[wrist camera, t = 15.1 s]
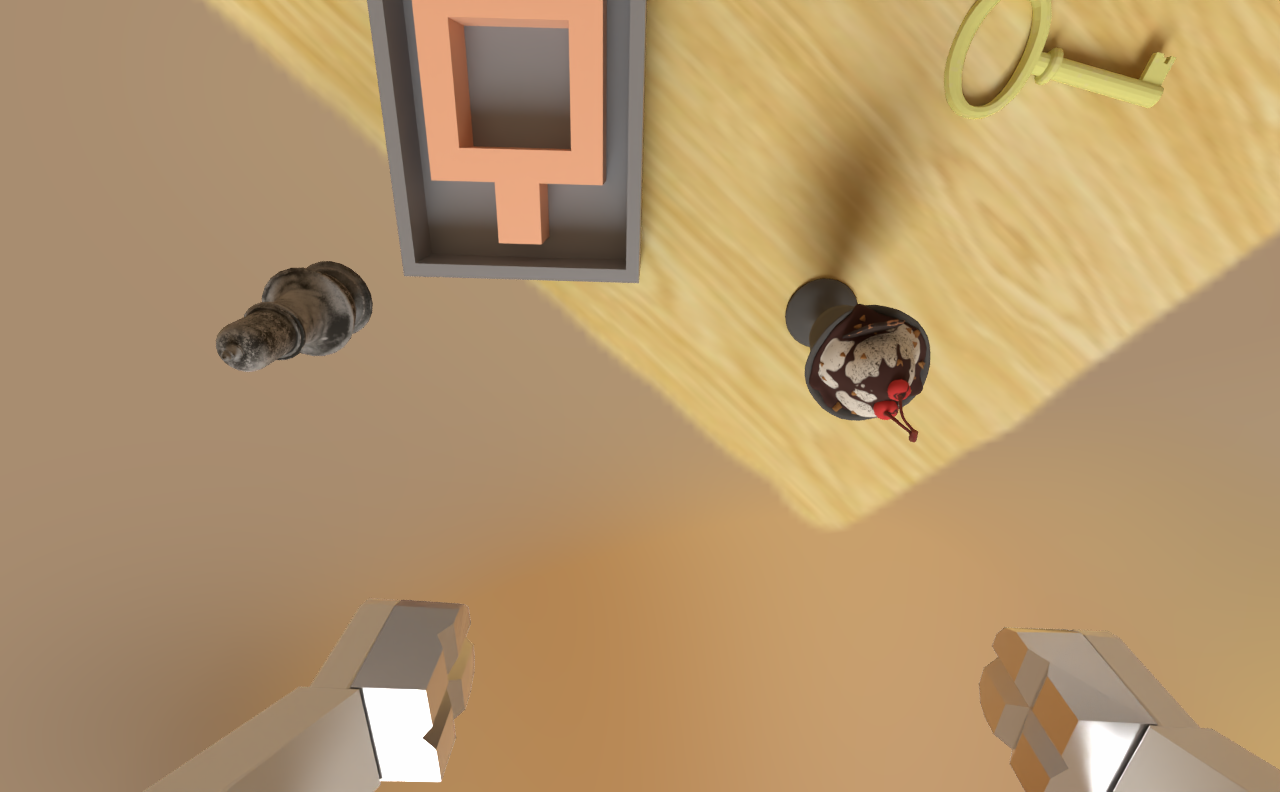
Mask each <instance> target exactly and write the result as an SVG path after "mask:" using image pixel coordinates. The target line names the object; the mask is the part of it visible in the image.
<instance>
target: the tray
mask: <svg viewBox="0 0 1280 792" xmlns="http://www.w3.org/2000/svg"><path fill="white" fill-rule="evenodd" d="M367 3H368V11H369V18H370V26H371V33H372V41H373V48H374V55H375V63H376V70H377V78H378V85H379V93H380V100H381V107H382V115H383V122H384V130H385V137H386V145H387V152H388V160H389V167H390V174H391V182H392V189H393V196H394V204H395V212H396V219H397V226H398V234H399V241H400V248H401V256H402V263H403V271H404V276H423V277H457V278H458V277H459V278H490V279H522V280H556V281H589V282H622V283H639V275H640V250H641V210H642V171H643V132H644V93H645V53H646V14H647V0H607V115H606V182H605V183H604V184H603V185H575V184H548V209H549V237H548V238H547V239H546V240H545V241H544V243H543V244H509V243H499V238H498V224H497V209H496V194H495V182H471V181H436V180H431V172H430V163H429V154H428V144H427V135H426V126H425V117H424V108H423V98H422V89H421V80H420V71H419V62H418V52H417V43H416V34H415V25H414V16H413V7H412V0H367ZM464 34H465V46H466V59H467V71H468V84H469V96H470V109H471V121H472V134H473V146H478V147H513V148H548V149H571V120H570V69H569V28H533V27H496V26H464Z"/></svg>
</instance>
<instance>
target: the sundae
mask: <svg viewBox="0 0 1280 792" xmlns="http://www.w3.org/2000/svg"><path fill="white" fill-rule="evenodd" d="M785 317H786V324H787V328H788V330H789V332H790V334H791V335H792V336H793V338H794V339H795V340H796V341H798V342H799V343H801V344H803V345H805V346H808V347H810V351H811V352H810V354H809V356H808V359H807V362H806V365H805V379H806V384H807V386H808V389H809V392H810V393H811V395H812V396H813V398H814V399H815V400H816V401H817V403H818V404H819V405H820V406H821V407H822V408H823V409H824V410H826V411H827V412H829V413H830V414H832V415H834V416H836V417H839V418H841V419H846V420H866V419H872V418H876V417H878V418H880V419H882V420H889V419H892V420H893V421H895V422H896V423H897V424H898V425H899V426H901V427H902V428H903V429H905V430H906V431H907V432H908V433H909V434H910V436H909V440H910V441H911V442H915V441H916V440H917V435H918V431H916V430H914V429H913V428H912V427H911V426H910V424H909V423H908V422H907V421H906V420H905V418H904V415H903V411H902V407H903V406H905V405H907V404H908V403H909V402H910V401H911V400H912V399H913V398H914V397H915V396H916V395H918V394H919V393H921V391H922V389H923V385H924V383H925V380H926V377H927V375H928V371H929V366H930V345H929V340H928V337H927V335H926V333H925V331H924V329H923V328H922V327H921V325H920V324H919V323H918V322H917V321H916V320H915V319H913V318H912V317H910V316H909V315H907V314H905V313H903V312H902V311H900V310H897V309H893V308H889V307H885V306H879V305H862V304H857V300H856V297H855V295H854V294H853V292H852V291H851V289H850V288H849V287H848V286H846V285H845V284H843V283H842V282H840V281H838V280H833V279H818V280H814V281H811V282H809V283H807V284H805V285H804V286H802V287H801V288H800V289H798V290H797V291H796V293H795V294H794V295H793V296H792V298H791V300H790V301H789V303H788V306H787V310H786V316H785ZM898 409H900V414H901V417H902V419H903V421H904V422H905V423H906V425H907V426H908V427H909V428H910V429H911V431H910V430H909V429H908V428H906V427H905V426H904V425H903V424H901V423H900V422H899V421H898V420H897V419H896V418H895V416H896V415H897V413H898Z"/></svg>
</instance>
